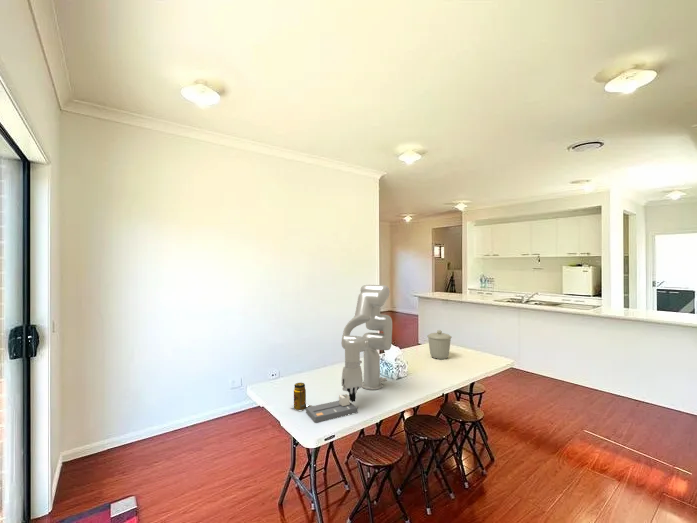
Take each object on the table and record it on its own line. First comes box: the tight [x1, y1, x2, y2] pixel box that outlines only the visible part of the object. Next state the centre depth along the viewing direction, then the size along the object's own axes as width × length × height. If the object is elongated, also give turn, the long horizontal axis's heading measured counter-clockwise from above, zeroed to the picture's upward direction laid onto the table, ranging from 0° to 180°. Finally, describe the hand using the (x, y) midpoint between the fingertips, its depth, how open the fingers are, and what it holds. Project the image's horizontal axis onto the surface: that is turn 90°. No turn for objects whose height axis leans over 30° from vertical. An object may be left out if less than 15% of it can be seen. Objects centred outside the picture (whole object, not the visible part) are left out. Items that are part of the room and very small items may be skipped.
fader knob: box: [338, 394, 351, 406], centre depth 167 cm, size 4×4×4 cm
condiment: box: [293, 382, 312, 412], centre depth 171 cm, size 7×8×12 cm
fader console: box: [305, 400, 358, 424], centre depth 164 cm, size 22×12×3 cm, turn 118°
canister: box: [427, 329, 452, 360], centre depth 260 cm, size 18×18×21 cm
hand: (352, 400), depth 169 cm, fingers closed
